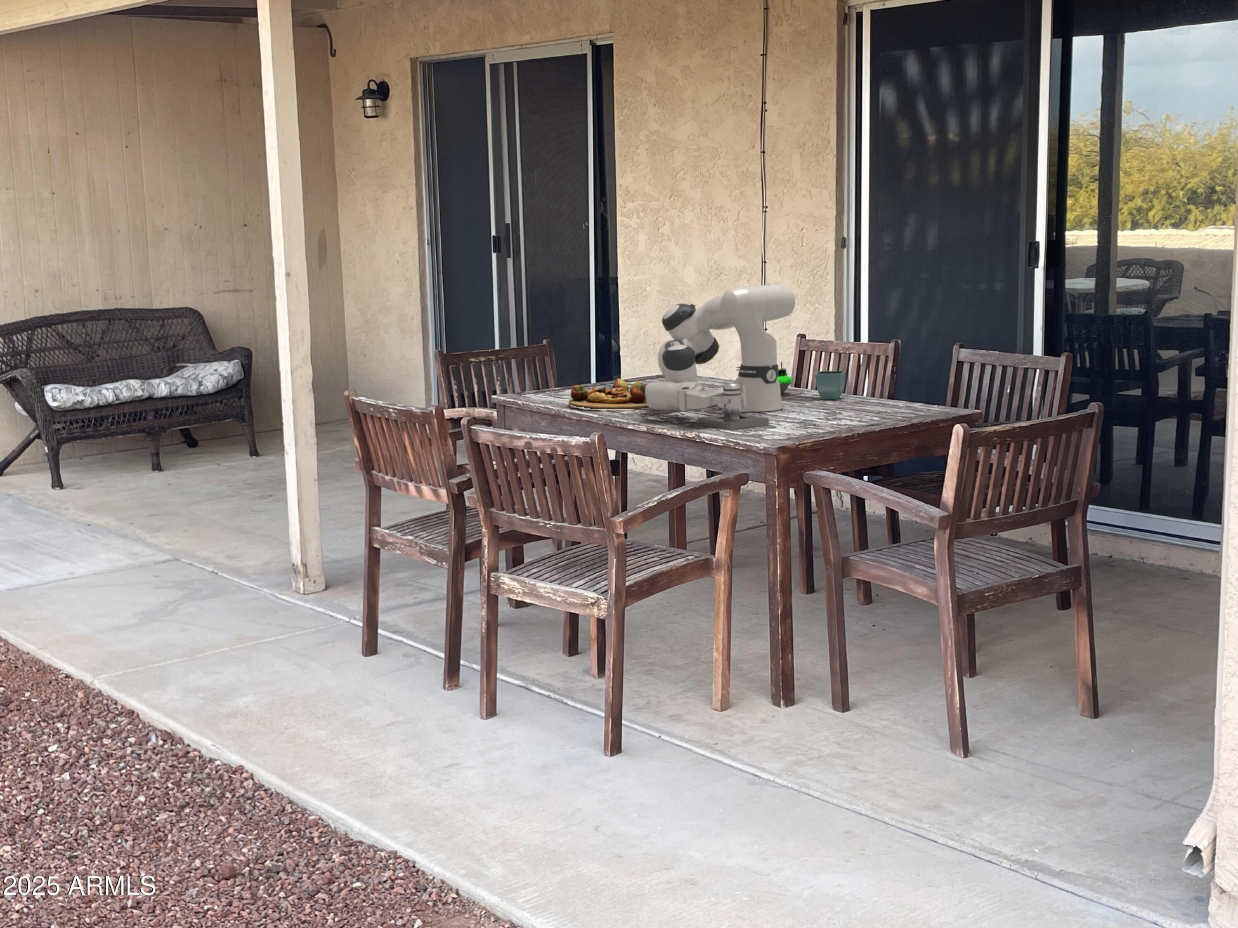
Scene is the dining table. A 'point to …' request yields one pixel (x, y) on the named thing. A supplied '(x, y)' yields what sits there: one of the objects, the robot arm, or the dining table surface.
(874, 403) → the dining table surface
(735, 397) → the white pepper mill
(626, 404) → the wooden plate with food
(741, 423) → the bore block
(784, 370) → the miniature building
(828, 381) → the flower pot
